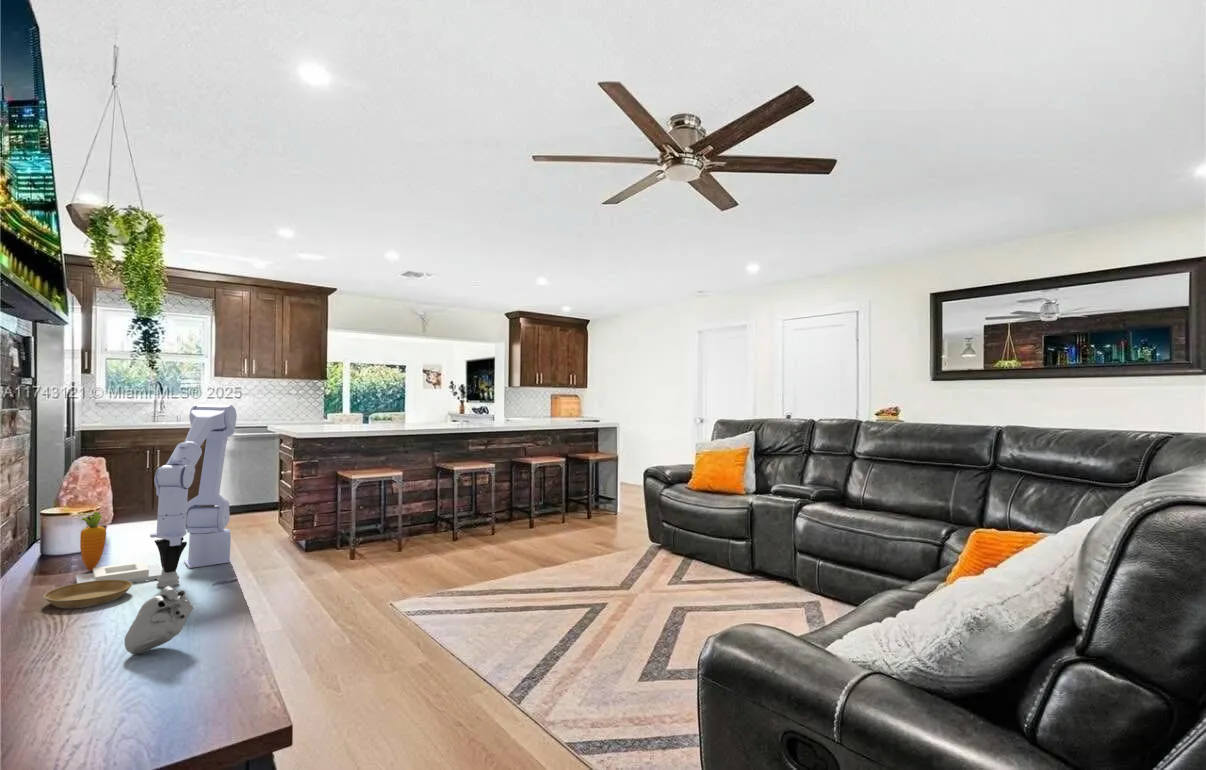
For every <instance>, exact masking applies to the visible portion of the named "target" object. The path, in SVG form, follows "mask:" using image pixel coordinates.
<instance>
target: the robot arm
mask: <svg viewBox="0 0 1206 770" xmlns="http://www.w3.org/2000/svg"><path fill="white" fill-rule="evenodd" d="M188 416H189V422H190V423H189V424H190V427H189V430H188V432H187V435H186V437H185V439H184V441H182V442H179V443H178V444H177V445H176V446H175V448H174V450H173V452H172V453H171V456H170V457H169V459H168V461H167V462H166V464H164V465H162V466H159V467H158V468H157V469H156V472H155V475H154V478H153V479H154V481H153V482H154V485H155V489H156V490H155V491H156V492H155V494H156V496H157V497H158V504H157V516H156V517H157V522H156V532H151V533H150V534H149V537H150V538H151V539H153V538H154V539H155V538H157V539H155V540H153V541H154V543H155V545H156V547H157V550H158V553H159V557H160V565H161V567H162V569H161V570H163V567H164V571H165V573H168V572H175V571H176V572H177V569H178V565H179V562H180V558H181V555H182V554H183V551H184V549H185V548H186V547H187V545H188V554H187V555H188V557H187V559H185V560H184V561H183V562H184V564H185V565H186V566H187V568H189V569H191V568H199V567H200V568H201V567H207V566H214V565H219V564H226V563H227V564H228V563H230V562H231V560H230V559H231V542H232V541H231V530H230V529H229V528H226V527H227V526H228V524H229V522H230V518H231V517H230V516H231V514H230V502H229V501H228V500H227V499H226V498H225V497H223V496H222V495H220V493H221V486H222V485H221V484H222V477H223V471H224V464H225V457H226V451H227V450H226V449H227V441H228V437H230V436H233V435H234V433H235V430H236V424H237V417H238V416H237V409H236V408H235V406H234V405H233V404H200V403H196V404H194V405H193V406H192V407H191V408H190V411H189V415H188ZM205 440H206V441H205ZM204 442H205V447H204V448H205V449H204V454H203V450H202V448H201V446H202V444H203V443H204ZM202 454H203V460H202V461H203V462H202V469H201V475H200V482H199V487H198V495H197V496H194V497H193V498H192V499H190V500H189V501H188V496H189V495H188V494H189V488H190V487H191V486H192V484H193V482H194V478H195V473H196V465H197V463H198V461H199V459H200V457H201V456H202ZM188 533H189V540H188V542H187V541H184V537H185V536H186V535H187V534H188ZM229 561H230V562H229ZM162 563H163V564H162Z"/></svg>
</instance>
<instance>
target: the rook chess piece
mask: <svg viewBox="0 0 1206 770" xmlns="http://www.w3.org/2000/svg"><path fill="white" fill-rule="evenodd" d="M162 564H163V563H162ZM161 570H162V573H161V575H160V577H159V578H158V579H157V580H156V581H157V583H156V586H157V587H158V588H163V587H164V588H165V587H168V586H170V587H175V586H177V585H178V584H179V583H180V575H178V573H177V570H176V571H175V572H168V573H165V571H164V567H163V569H161ZM164 588H163V589H164Z"/></svg>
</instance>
